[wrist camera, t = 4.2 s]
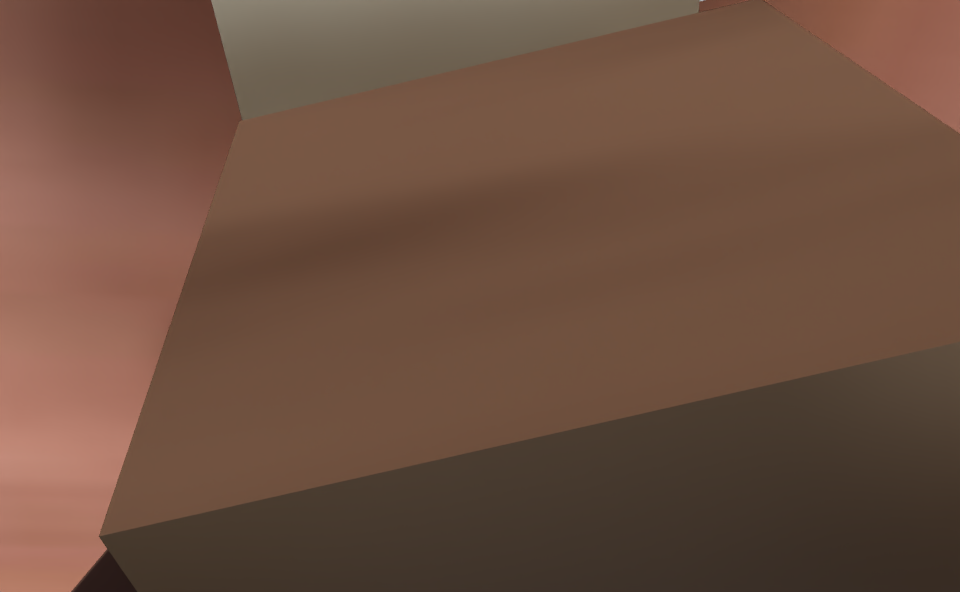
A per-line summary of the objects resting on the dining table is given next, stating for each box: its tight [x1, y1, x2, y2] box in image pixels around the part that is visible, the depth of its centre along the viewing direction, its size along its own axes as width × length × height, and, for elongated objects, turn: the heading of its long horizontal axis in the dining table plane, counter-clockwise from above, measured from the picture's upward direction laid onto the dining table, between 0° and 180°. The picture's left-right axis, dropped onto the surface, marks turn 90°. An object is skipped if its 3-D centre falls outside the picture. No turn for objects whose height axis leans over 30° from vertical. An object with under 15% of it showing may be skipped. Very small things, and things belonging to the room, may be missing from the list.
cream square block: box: [211, 0, 699, 120], centre depth 16 cm, size 8×8×4 cm
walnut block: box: [99, 0, 960, 592], centre depth 7 cm, size 5×5×5 cm
